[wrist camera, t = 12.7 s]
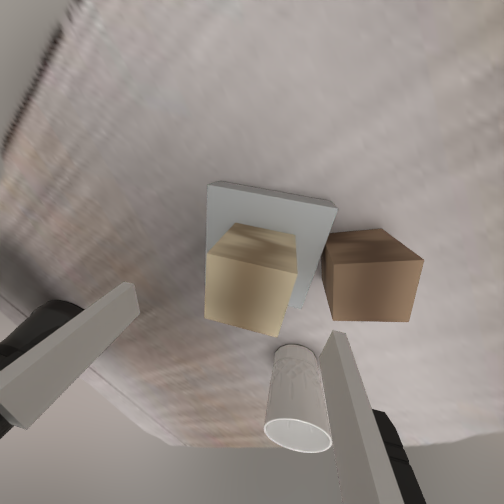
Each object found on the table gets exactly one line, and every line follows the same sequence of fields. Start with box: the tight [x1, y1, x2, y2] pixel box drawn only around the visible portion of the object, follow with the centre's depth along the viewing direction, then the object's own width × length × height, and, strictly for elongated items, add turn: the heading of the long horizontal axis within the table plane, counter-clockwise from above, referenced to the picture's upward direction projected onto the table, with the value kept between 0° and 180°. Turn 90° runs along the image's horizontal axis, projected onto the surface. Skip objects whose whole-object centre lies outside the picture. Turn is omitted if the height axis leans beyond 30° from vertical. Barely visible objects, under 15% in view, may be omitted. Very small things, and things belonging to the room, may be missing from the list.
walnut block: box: [321, 229, 424, 322], centre depth 18 cm, size 6×6×7 cm
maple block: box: [204, 223, 298, 337], centre depth 16 cm, size 6×6×7 cm
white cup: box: [264, 345, 332, 453], centre depth 26 cm, size 8×8×10 cm
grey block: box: [205, 181, 338, 309], centre depth 21 cm, size 12×12×4 cm
